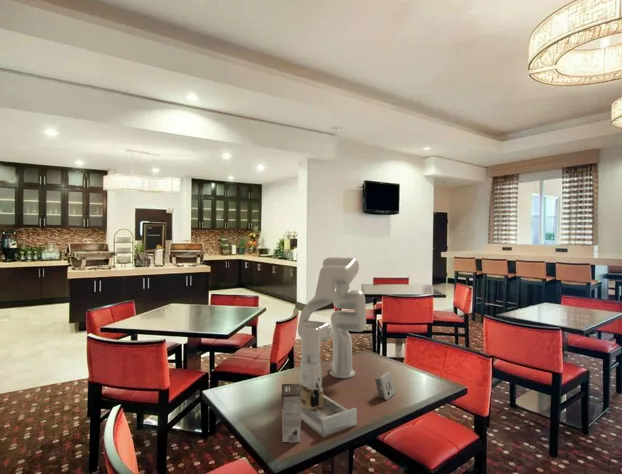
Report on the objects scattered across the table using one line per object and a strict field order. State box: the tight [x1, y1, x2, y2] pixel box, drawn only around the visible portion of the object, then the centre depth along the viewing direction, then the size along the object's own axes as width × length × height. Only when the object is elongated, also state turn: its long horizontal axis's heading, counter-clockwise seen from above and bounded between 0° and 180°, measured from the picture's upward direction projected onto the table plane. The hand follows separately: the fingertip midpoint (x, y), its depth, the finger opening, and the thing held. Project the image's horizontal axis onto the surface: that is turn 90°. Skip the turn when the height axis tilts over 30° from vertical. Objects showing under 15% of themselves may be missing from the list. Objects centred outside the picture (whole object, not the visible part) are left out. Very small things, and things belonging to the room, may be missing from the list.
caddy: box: [301, 394, 358, 438], centre depth 138 cm, size 24×15×6 cm, turn 33°
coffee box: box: [281, 383, 302, 443], centre depth 125 cm, size 9×6×16 cm
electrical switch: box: [374, 371, 397, 401], centre depth 157 cm, size 9×5×9 cm, turn 141°
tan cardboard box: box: [300, 386, 324, 409], centre depth 144 cm, size 5×8×7 cm, turn 123°
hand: (311, 402), depth 144 cm, fingers closed on tan cardboard box, 5 cm apart
